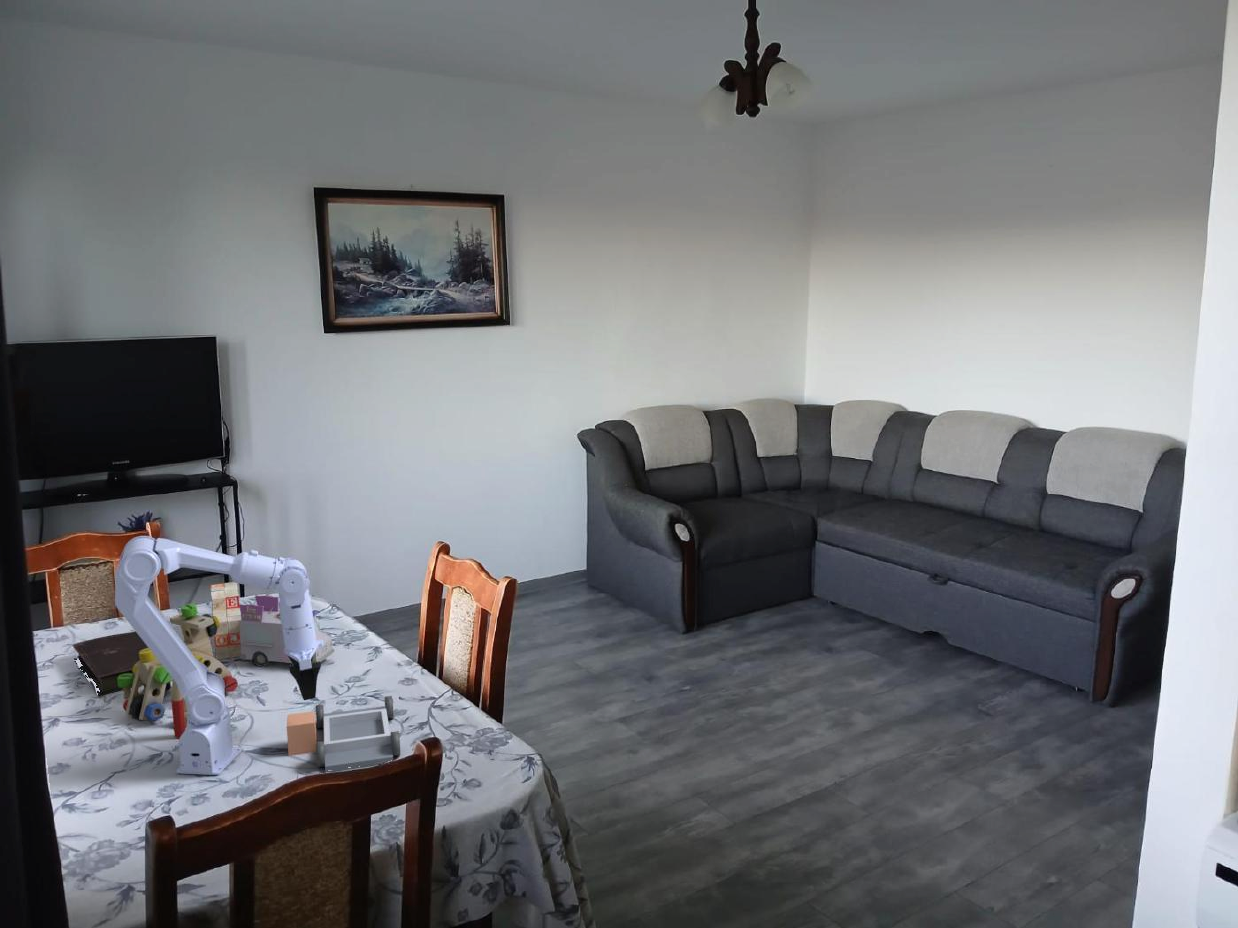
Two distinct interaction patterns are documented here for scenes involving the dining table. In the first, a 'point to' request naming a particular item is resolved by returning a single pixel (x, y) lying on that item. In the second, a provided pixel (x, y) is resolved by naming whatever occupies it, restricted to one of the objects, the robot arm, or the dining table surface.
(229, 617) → the stack of blocks
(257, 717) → the dining table surface
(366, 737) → the chassis
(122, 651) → the diary
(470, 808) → the dining table surface
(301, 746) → the light orange block
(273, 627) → the toy vehicle
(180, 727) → the toy construction set
